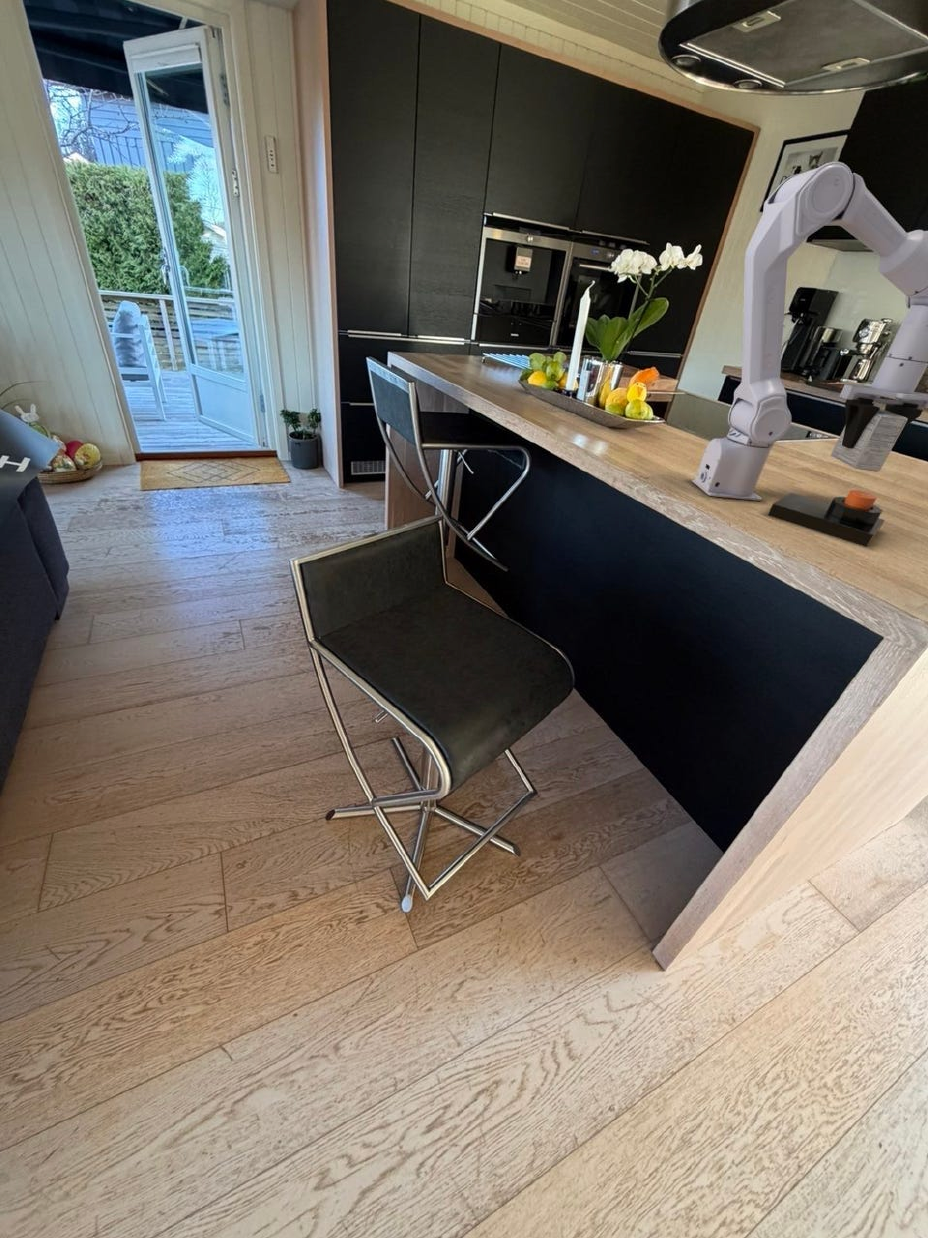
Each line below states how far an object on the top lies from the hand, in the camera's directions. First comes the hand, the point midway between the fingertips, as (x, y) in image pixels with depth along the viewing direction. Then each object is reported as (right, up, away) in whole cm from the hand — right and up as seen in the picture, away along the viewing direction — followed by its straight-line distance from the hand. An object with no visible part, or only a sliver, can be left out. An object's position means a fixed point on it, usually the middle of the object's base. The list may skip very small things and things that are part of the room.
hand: (861, 448), depth 88 cm
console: (-10, -13, -5) cm, 17 cm away
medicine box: (0, -2, +2) cm, 3 cm away
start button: (-7, -12, -7) cm, 15 cm away
